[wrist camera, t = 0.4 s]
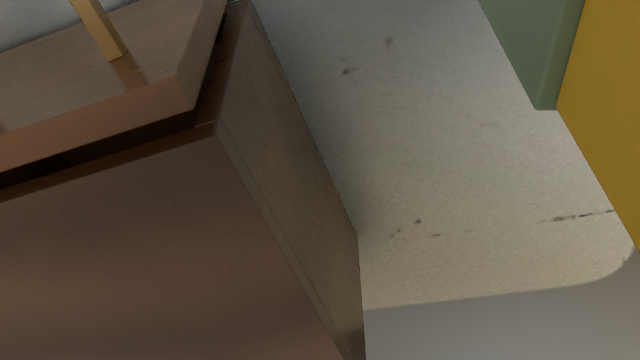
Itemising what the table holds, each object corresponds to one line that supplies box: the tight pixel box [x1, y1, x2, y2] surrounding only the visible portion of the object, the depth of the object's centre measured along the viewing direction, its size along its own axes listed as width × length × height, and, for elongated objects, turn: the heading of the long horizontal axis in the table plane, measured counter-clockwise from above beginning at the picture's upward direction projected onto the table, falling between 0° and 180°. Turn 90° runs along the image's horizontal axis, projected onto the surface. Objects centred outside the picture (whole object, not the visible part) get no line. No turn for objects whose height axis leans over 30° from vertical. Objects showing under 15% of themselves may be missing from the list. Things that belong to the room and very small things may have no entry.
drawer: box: [0, 0, 227, 190], centre depth 24 cm, size 18×12×8 cm, turn 20°
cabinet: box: [0, 0, 366, 360], centre depth 27 cm, size 15×13×10 cm
